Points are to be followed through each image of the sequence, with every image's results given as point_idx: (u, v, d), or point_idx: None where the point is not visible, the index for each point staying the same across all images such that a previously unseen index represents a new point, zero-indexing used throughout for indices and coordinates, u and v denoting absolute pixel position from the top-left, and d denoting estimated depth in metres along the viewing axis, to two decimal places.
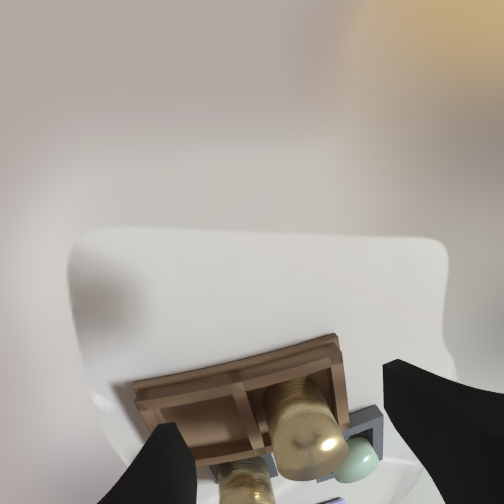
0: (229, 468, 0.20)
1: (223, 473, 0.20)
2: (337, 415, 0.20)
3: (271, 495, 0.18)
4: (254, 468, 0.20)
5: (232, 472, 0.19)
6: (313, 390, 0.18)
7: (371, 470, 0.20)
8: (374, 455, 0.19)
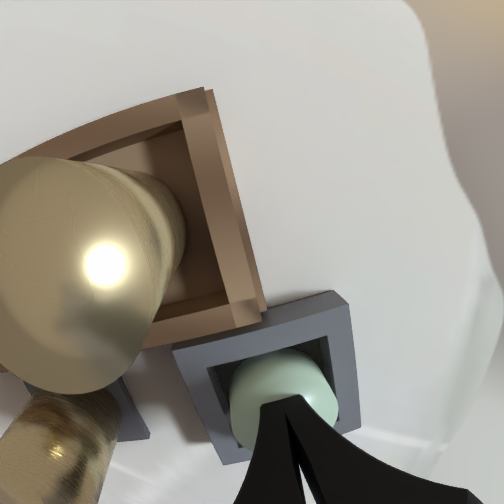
0: (36, 391, 0.10)
1: None
2: (221, 273, 0.09)
3: (81, 458, 0.07)
4: (71, 396, 0.09)
5: (34, 396, 0.09)
6: (139, 173, 0.08)
7: None
8: (323, 387, 0.09)
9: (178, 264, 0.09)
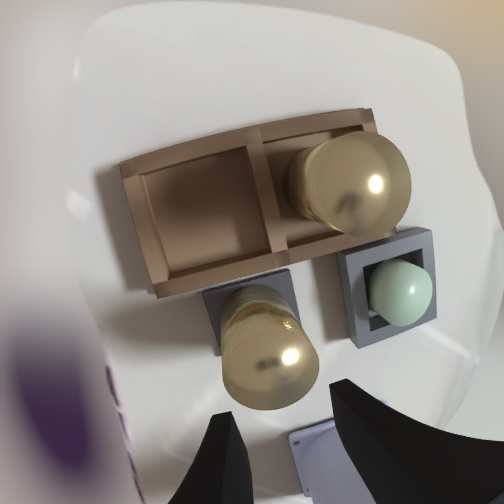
0: (236, 298, 0.17)
1: (229, 306, 0.16)
2: None
3: None
4: (273, 295, 0.17)
5: (242, 299, 0.16)
6: None
7: (424, 306, 0.17)
8: (426, 274, 0.16)
9: None
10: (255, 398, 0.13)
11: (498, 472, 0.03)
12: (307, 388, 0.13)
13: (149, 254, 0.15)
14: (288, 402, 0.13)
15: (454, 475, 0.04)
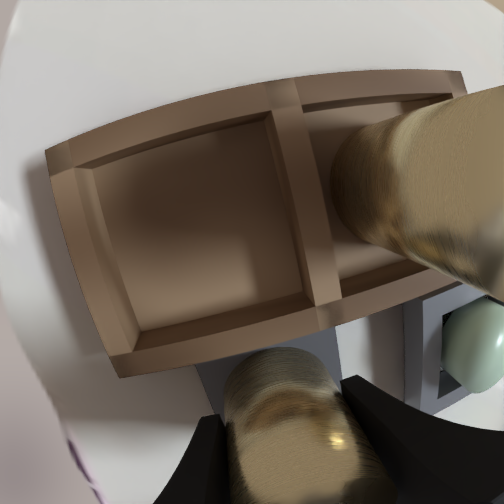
0: (252, 378, 0.09)
1: (239, 391, 0.09)
2: None
3: (365, 435, 0.07)
4: (313, 373, 0.09)
5: (261, 384, 0.09)
6: None
7: None
8: None
9: None
10: None
11: None
12: None
13: (98, 308, 0.08)
14: None
15: (470, 465, 0.04)
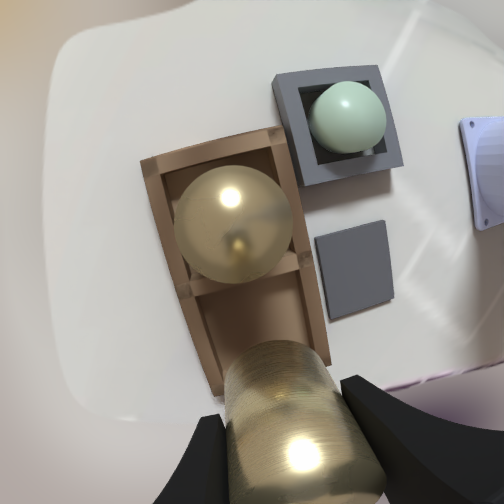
0: (244, 372, 0.10)
1: (234, 385, 0.10)
2: (251, 149, 0.15)
3: (353, 418, 0.08)
4: (302, 362, 0.10)
5: (252, 377, 0.10)
6: None
7: (366, 91, 0.14)
8: (329, 90, 0.14)
9: None
10: None
11: None
12: None
13: None
14: None
15: (470, 465, 0.04)
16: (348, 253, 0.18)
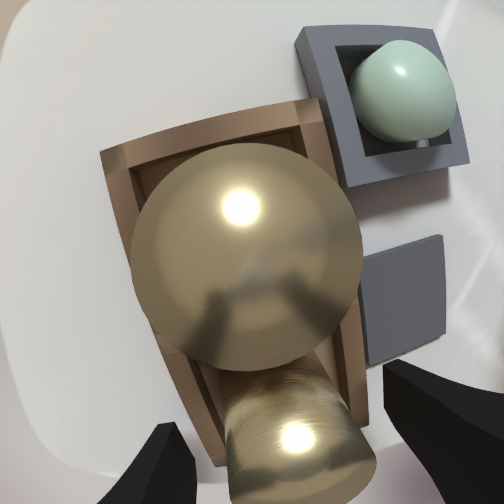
0: None
1: (231, 374, 0.11)
2: (270, 130, 0.09)
3: (344, 403, 0.09)
4: None
5: None
6: None
7: (429, 56, 0.08)
8: (383, 49, 0.08)
9: None
10: None
11: None
12: (358, 489, 0.07)
13: None
14: None
15: None
16: (397, 280, 0.13)
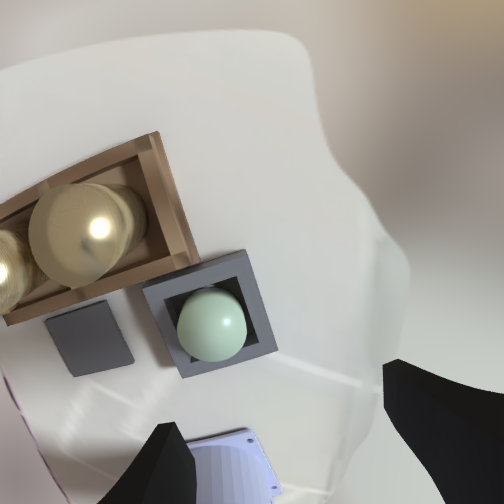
0: None
1: (27, 229, 0.15)
2: (165, 237, 0.16)
3: (19, 299, 0.13)
4: None
5: None
6: (117, 185, 0.15)
7: (239, 342, 0.17)
8: (231, 307, 0.16)
9: (141, 233, 0.16)
10: None
11: None
12: None
13: None
14: None
15: None
16: (98, 332, 0.18)
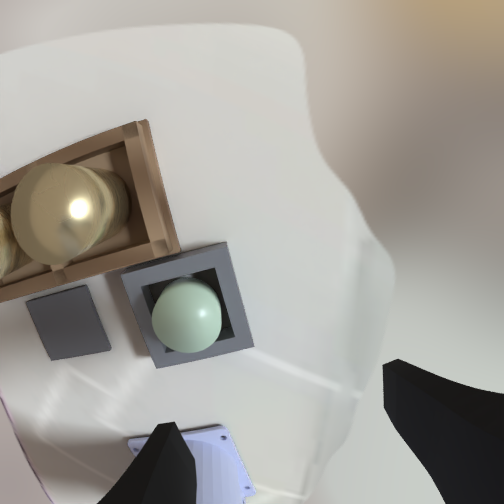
0: None
1: None
2: None
3: (1, 275, 0.13)
4: None
5: None
6: (102, 170, 0.15)
7: (213, 334, 0.16)
8: (207, 298, 0.16)
9: (122, 219, 0.15)
10: None
11: None
12: None
13: None
14: None
15: None
16: (77, 316, 0.18)
